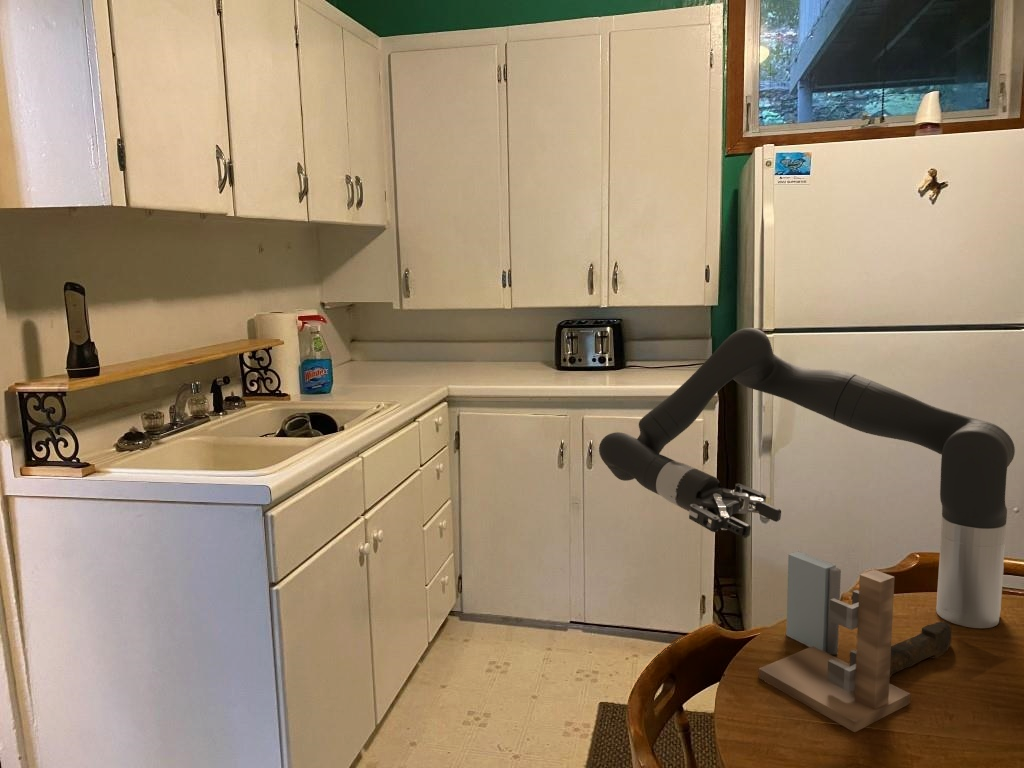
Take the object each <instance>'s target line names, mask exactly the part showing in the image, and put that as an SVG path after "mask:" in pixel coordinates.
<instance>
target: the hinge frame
mask: <svg viewBox="0 0 1024 768" xmlns="http://www.w3.org/2000/svg"><path fill="white" fill-rule="evenodd" d="M895 579H896V578H895V576H893V575H891V574H887V573H884V572H882V571H879V570H876V569H871V570H869V571H865V572H863V573H861V574H859V583H858V584H859V585H858V586H859V589H855V590H852V596H851V597H852V598H851V599H852V600H851V602H852V603H851V604H849V603H847V602H844V601H841V600H840V601H839V600H837V599H831V600H830V621H832V622H834V623H837V624H839V626H841V627H844V628H846V629H848V630H851V631H852V630H854V629H857V630H856V632H857V634H856V649H852V650H850V651H849V663H848V662H846V661H844V660H843V659H840V658H838V657H836V656H835V655H832V654H829V653H827V652H824V651H822V650H820V649H818V648H816V647H814V646H812V647H809V646H808V648H807V647H806V648H805V649H802V650H800V651H797V652H794V653H793V654H791V655H788V656H786V657H783V658H781V659H778V660H776V661H774V662H772V663H769V664H766V665H764V666H761V667H759V668H758V679H760V680H761V679H762V680H761V681H763V680H764V681H763V682H765V681H766V682H765V683H767V684H768V683H769V684H768V685H770V684H771V685H770V686H772V687H774V688H776V689H778V690H780V691H781V692H783V693H784V694H787V695H788V696H790V697H791V698H793V699H794V700H797V701H798V702H800V703H801V704H804V705H805V706H807V707H809V708H811V709H812V710H814V711H816V712H818V713H819V714H821V715H823V716H825V717H827V718H828V719H830V720H832V721H833V722H835V723H837V724H839V725H841V726H842V727H844V728H846V729H848V730H849V731H850V732H853V733H856V732H858V731H860V730H863V729H864V728H866V727H868V726H870V725H871V724H873V723H876V722H877V721H879V720H881V719H883V718H885V717H887V716H889V715H891V714H893V713H894V712H897V711H899V710H900V709H902V708H904V707H907V706H909V705H910V704H911V693H910V692H908V691H906V690H904V689H902V688H899V687H897V686H895V685H893V684H892V683H890V679H891V678H890V659H891V646H892V637H893V636H892V635H893V634H892V633H893V620H894V619H893V616H894V615H893V614H894V598H895V597H894V596H895V595H894V594H895Z"/></svg>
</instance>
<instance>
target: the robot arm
mask: <svg viewBox="0 0 1024 768" xmlns="http://www.w3.org/2000/svg"><path fill="white" fill-rule="evenodd" d="M773 351H774V350H773V348H772V344H771V341H770V339H769V337H768V336H767V334H766V333H765V332H764V331H762V330H760V329H758V328H754V327H745V328H740V329H738V330H736V331H734V332H733V333H732V334H730V335H729V336H728V337H727V338H726V339H725V340H724V341H723V342H722V343H721V344H720V345H719V346H718V347H717V349H716V350H715V351H714V352H713V353H712V354H711V355H710V356H709V358H707V359H706V360H705V361H704V363H702V364H701V366H700V367H699V368H697V370H695V371H694V372H693V374H692V375H691V376H689V378H688V379H687V380H686V381H685V382H684V383H682V385H680V386H679V388H677V389H676V390H675V391H674V392H673V393H671V394H670V395H669V396H668V397H667V398H665V399H664V400H663V401H662V402H660V403H659V404H657V406H655V407H654V408H652V410H650V411H649V412H647V413H646V414H645V415H644V416H643V417H642V418H641V419H640V420H639V421H638V428H639V435H638V436H637V438H636V437H634V436H632V435H631V434H628V433H624V432H611V433H609V434H607V435H605V436H604V437H603V438H602V439H601V441H600V443H599V446H598V452H599V456H600V458H601V460H602V462H603V463H604V464H605V465H606V467H607V468H608V469H609V470H610V472H611V473H612V474H613V476H614V477H616V478H617V479H618V480H620V481H623V482H624V481H625V482H626V481H627V482H628V481H631V480H632V481H633V480H636V482H638V483H639V485H641V486H642V487H644V488H645V489H647V490H648V491H651V492H653V493H655V494H656V495H658V496H661V497H662V498H663V499H665V500H666V501H668V502H669V503H671V504H672V505H673V504H674V505H675V506H678V507H679V508H681V509H683V510H686V511H687V512H689V513H688V519H689V520H691V521H692V522H695V523H696V524H698V525H700V526H701V527H703V528H705V529H707V530H709V531H710V532H712V533H718V531H719V529H721V531H729V532H731V533H733V534H736V535H738V536H740V537H742V538H744V539H747V538H749V537H750V535H751V525H750V524H748V523H746V522H744V521H742V520H740V519H738V518H736V517H734V516H732V515H736V514H741V515H746V514H748V513H753V514H759V515H760V516H762V517H765V518H766V519H768V520H771V521H773V522H780V520H781V518H782V510H781V509H780V508H778V507H776V506H774V505H772V504H769V503H768V502H766V500H767V494H766V493H764V492H761V491H759V490H756V489H754V488H751V487H749V486H747V485H744V484H741V483H735V486H734V489H729V488H725V487H723V486H722V484H721V483H720V481H719V479H718V478H717V477H716V476H713V475H711V474H709V473H707V472H705V471H702V470H701V469H698V468H695V467H693V466H691V465H689V464H687V463H684V462H679V461H676V460H674V459H672V458H669V457H668V456H665V455H663V454H661V452H662V450H663V449H664V447H665V446H666V445H668V444H669V443H670V442H673V440H674V439H676V438H677V437H678V436H679V435H681V434H682V433H683V432H684V431H685V430H687V429H688V428H689V427H690V426H691V425H693V423H694V422H695V421H696V420H697V418H698V417H700V415H701V413H703V411H704V410H705V408H706V407H707V405H708V404H709V403H710V401H711V400H712V399H713V398H714V396H716V394H717V393H718V392H719V391H720V390H721V389H722V388H723V387H724V386H726V385H727V384H728V383H729V382H731V381H735V382H736V383H737V384H738V385H741V386H742V387H746V388H748V389H752V390H755V391H758V392H763V393H765V394H768V395H772V396H775V397H778V398H781V399H784V400H786V401H789V402H792V403H794V404H796V405H798V406H799V407H803V408H805V409H807V410H809V411H811V412H814V413H817V414H819V415H821V416H823V417H825V418H828V419H830V420H832V421H834V422H837V423H839V424H840V425H841V424H842V425H843V426H846V427H848V428H851V429H852V430H853V429H854V430H856V431H859V432H862V433H864V434H865V433H866V434H869V435H872V436H878V437H882V438H888V439H893V440H897V441H898V440H899V441H905V442H908V443H913V444H916V445H919V446H921V447H924V448H925V449H929V450H930V451H932V452H934V453H935V452H936V453H937V454H939V455H941V459H940V460H941V462H940V483H939V484H940V486H939V487H940V489H939V497H940V503H941V527H940V529H941V530H940V545H939V560H938V561H939V562H938V563H939V564H938V575H937V576H938V577H937V578H938V579H937V589H936V590H937V591H936V593H937V594H936V609H935V610H936V613H937V615H938V616H939V617H940V618H942V619H943V620H945V621H947V622H949V623H952V624H955V625H958V626H962V627H965V628H966V627H968V628H971V629H972V628H973V629H988V628H989V629H990V628H993V627H995V626H997V625H998V624H999V623H1000V617H1001V607H1002V595H1003V584H1004V583H1003V582H1004V569H1005V568H1004V566H1005V564H1004V562H1005V561H1004V560H1005V546H1006V533H1007V520H1008V517H1007V516H1008V508H1007V506H1006V488H1007V487H1006V486H1007V473H1008V472H1007V471H1008V467H1009V466H1010V465H1011V464H1012V462H1013V460H1014V457H1015V453H1016V448H1015V443H1014V442H1013V439H1012V437H1011V436H1010V435H1009V434H1008V432H1007V431H1005V430H1004V429H1003V428H1002V427H1000V426H998V425H996V424H995V423H991V422H988V421H985V420H983V419H978V418H975V417H970V416H967V415H964V414H959V413H957V412H952V411H950V410H949V411H948V410H945V409H943V408H939V407H936V406H933V405H930V404H928V403H926V402H924V401H922V400H919V399H917V398H915V397H912V396H910V395H908V394H905V393H904V392H900V391H898V390H895V389H893V388H890V387H888V386H886V385H883V384H882V383H879V382H877V381H874V380H872V379H869V378H866V377H864V376H860V375H858V374H856V373H852V372H849V371H846V370H845V371H844V370H838V369H816V368H815V369H814V368H806V367H804V366H801V365H800V366H799V365H797V364H795V363H792V362H790V361H787V360H785V359H783V358H782V357H779V356H777V355H776V354H775V353H774V352H773ZM741 502H743V505H742V506H741ZM749 505H751V506H749ZM709 520H710V521H711V523H710V522H709Z"/></svg>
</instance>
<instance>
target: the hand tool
mask: <svg viewBox="0 0 1024 768" xmlns="http://www.w3.org/2000/svg"><path fill="white" fill-rule="evenodd" d="M951 644H952V627H951V625H950V624H949V623H948V622H946V621H945V622H943V621H939V622H934V623H930V624H927V625H924V626H923V627H922V628H921V632H920V633H919V634H917V635H915V636H913V637H910V638H908V639H906V640H903V641H900V642H898V643H895V644H892V645H891V659H890V679H891V677H892V676H893V674H895V673H898V672H901V670H904V669H906V668H908V667H913V665H915V664H918V663H919V662H922V661H923V660H926V659H928V658H932V659H938V658H939V656H940V657H941V656H943V655H944V654H945V653H946V652H947V651H948V649H949V648H950V647H951ZM943 653H944V654H943Z"/></svg>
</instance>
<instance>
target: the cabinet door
mask: <svg viewBox="0 0 1024 768" xmlns="http://www.w3.org/2000/svg"><path fill="white" fill-rule="evenodd" d="M787 557H788V558H787V559H788V560H787V563H788V565H787V567H788V568H787V596H786V597H787V599H786V602H787V603H786V636H787V637H789V638H791V639H793V640H795V641H797V642H799V643H801V644H803V645H805V646H807V647H808V648H809V647H812V646H814V647H816V648H818V649H820V650H822V651H824V652H826V653H828V654H830V655H832V656H835V655H837V654H839V652H838V651H839V626H840V625H839V624H837V623H834V622H832V621H830V600H831V599H837V600H839V601H841V580H842V579H841V575H842V573H841V572H842V571H841V570H842V569H840V568H838V567H836V566H837V565H836V564H834V563H831V562H828V561H827V560H824V559H820V558H818V557H815V556H813V555H810V554H807V553H806V552H805V553H804V552H802V551H795V552H792V553H789V554H788V556H787Z"/></svg>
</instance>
